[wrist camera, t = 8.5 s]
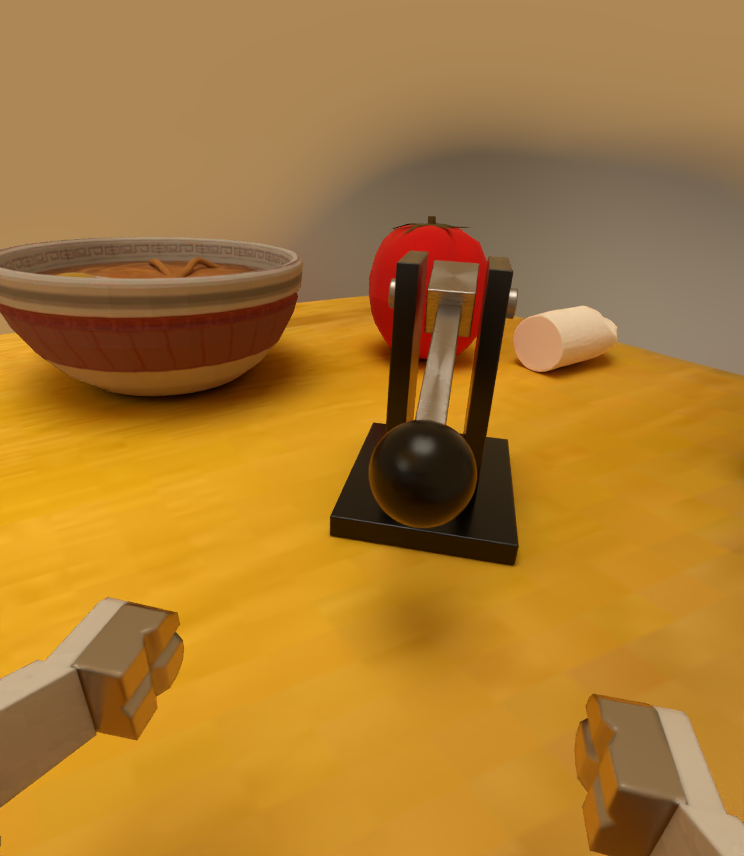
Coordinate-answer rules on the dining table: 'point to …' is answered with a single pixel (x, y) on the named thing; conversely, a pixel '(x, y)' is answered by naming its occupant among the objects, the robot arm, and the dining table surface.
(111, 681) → the robot arm
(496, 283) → the bracket
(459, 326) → the lever
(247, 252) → the bowl
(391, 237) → the tomato
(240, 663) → the dining table surface
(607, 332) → the cream cylinder
